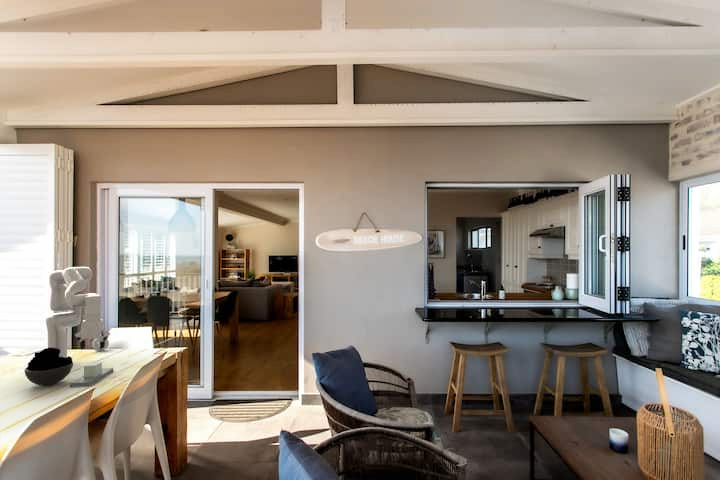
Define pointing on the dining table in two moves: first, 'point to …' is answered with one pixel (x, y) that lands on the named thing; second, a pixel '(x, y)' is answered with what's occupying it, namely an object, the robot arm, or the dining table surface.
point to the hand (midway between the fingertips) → (92, 348)
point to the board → (90, 378)
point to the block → (93, 369)
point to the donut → (96, 347)
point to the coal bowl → (48, 367)
